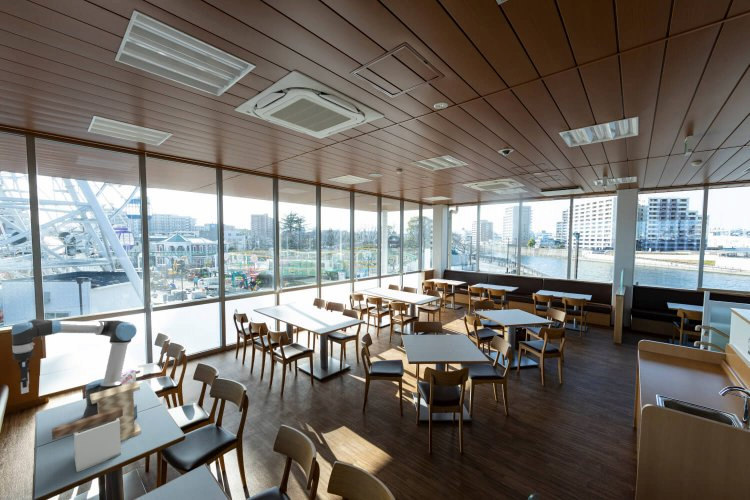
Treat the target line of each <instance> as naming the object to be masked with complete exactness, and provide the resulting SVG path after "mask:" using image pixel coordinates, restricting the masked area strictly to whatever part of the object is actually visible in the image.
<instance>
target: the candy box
mask: <svg viewBox="0 0 750 500" xmlns="http://www.w3.org/2000/svg"><path fill="white" fill-rule="evenodd" d="M120 380H121V381H122V385H125V384H129V383H133V382H137V370H136V369H128V370H126V371H124V372H122V373H121V378H120Z"/></svg>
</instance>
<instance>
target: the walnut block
mask: <svg viewBox="0 0 750 500" xmlns="http://www.w3.org/2000/svg"><path fill="white" fill-rule="evenodd" d="M121 416H123V409H122V407H119V408H116V409H112V410H109V411H106V412H103V413H100V414H97V415H94V416H90V417H87V418H81V419H77V420H75V421H72V422H69V423H66V424H62V425H59V426H57V427H53V428H51V440H56V439H59V438H61V437H65V436H67V435H71V434H74V432H77V431H80V430H83V429H86V428H89V427H92V426H95V425H98V424H101V423H104V422H107V421H110V420H113V419H116V418H118V417H121Z"/></svg>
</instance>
